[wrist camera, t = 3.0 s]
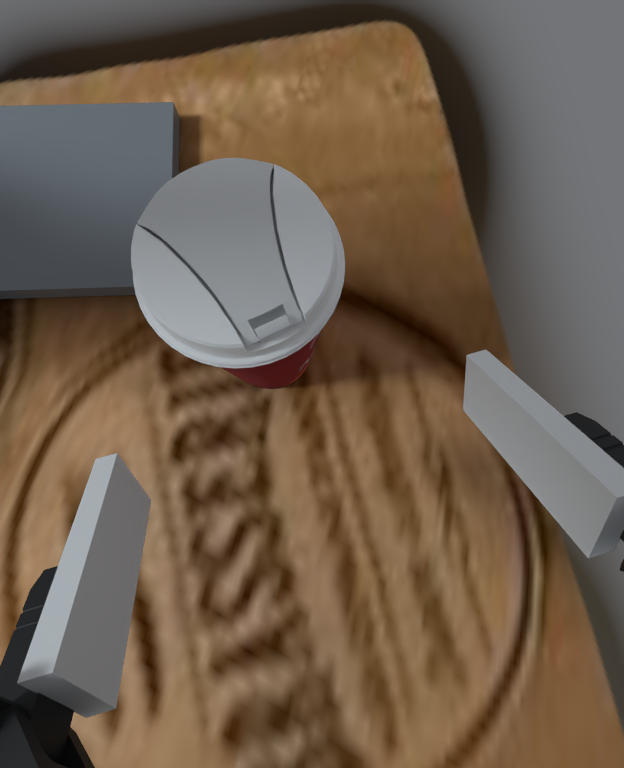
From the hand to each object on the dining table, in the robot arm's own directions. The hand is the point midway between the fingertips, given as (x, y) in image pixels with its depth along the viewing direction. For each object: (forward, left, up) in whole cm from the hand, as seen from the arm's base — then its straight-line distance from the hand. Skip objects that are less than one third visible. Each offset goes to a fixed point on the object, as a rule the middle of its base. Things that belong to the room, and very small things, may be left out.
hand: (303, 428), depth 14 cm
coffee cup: (-2, +7, -13) cm, 15 cm away
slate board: (-18, +19, -13) cm, 29 cm away
